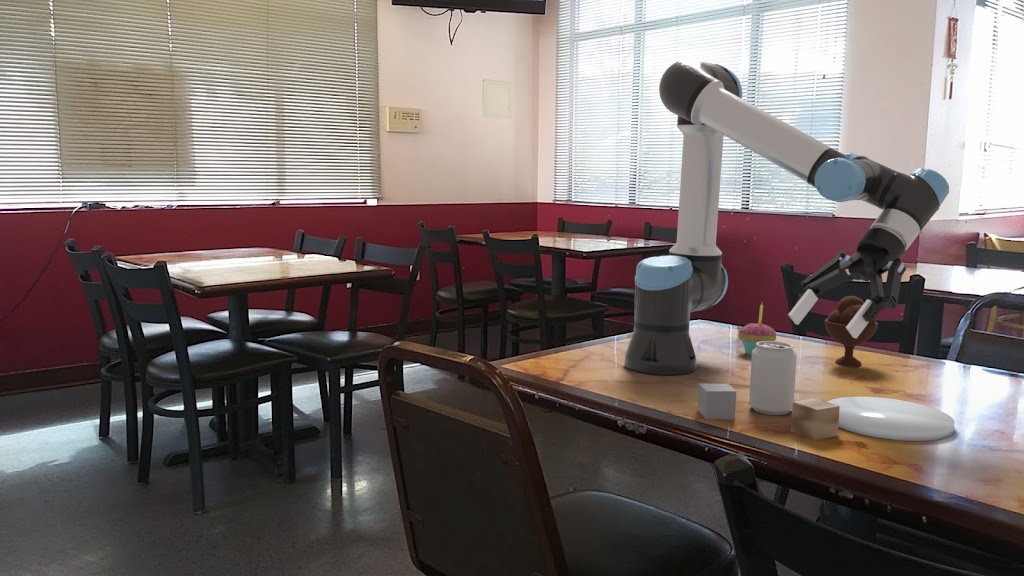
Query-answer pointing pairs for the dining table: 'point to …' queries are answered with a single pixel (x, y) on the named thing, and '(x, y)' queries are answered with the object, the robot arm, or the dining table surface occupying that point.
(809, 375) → the dining table surface
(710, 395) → the gray block
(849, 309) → the ice cream bowl
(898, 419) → the plate
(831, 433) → the wooden cube
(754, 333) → the cupcake
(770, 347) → the can
